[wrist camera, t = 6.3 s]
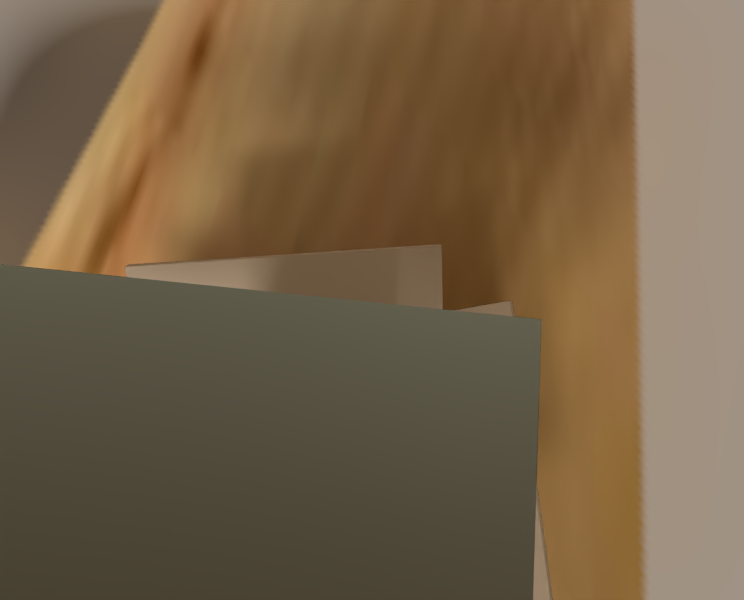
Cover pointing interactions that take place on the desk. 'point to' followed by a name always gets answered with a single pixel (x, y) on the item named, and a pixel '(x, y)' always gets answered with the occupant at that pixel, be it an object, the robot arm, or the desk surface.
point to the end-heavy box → (260, 445)
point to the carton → (344, 281)
